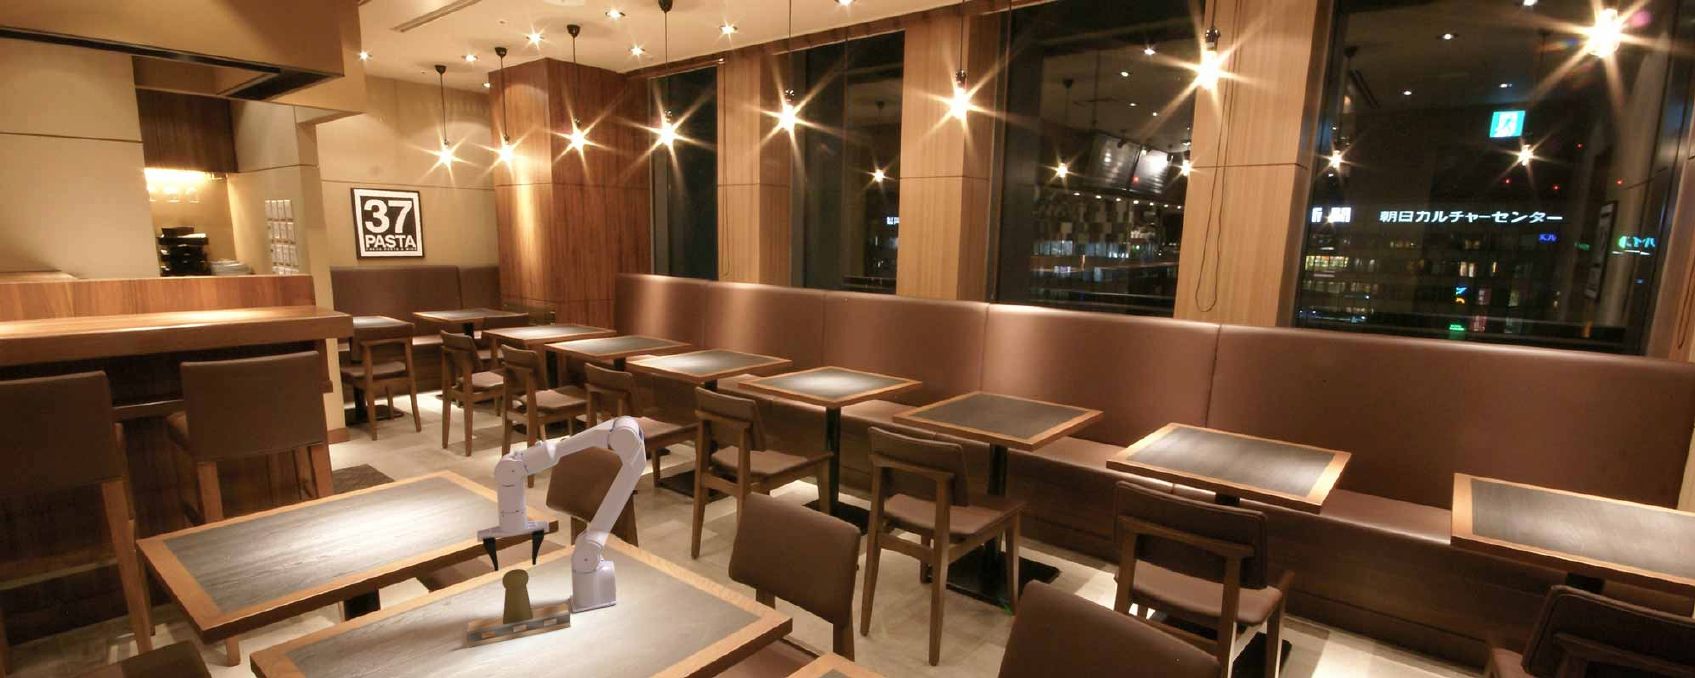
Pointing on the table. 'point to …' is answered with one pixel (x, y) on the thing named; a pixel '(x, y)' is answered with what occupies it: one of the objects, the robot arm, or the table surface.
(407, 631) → the table surface
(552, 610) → the shelf board
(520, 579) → the cork
